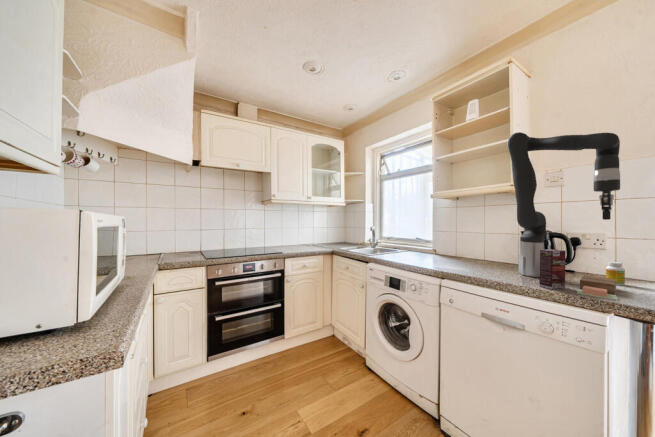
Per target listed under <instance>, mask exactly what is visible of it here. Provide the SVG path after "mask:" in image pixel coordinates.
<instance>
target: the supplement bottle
mask: <svg viewBox="0 0 655 437" xmlns="http://www.w3.org/2000/svg"><path fill="white" fill-rule="evenodd" d="M605 278H609V279H616V286H625V285H626V281H625V280H626V272H625V268H624V267H623V263H622V262H619V261H618V262H617V261H608V264H607V266H606V268H605Z"/></svg>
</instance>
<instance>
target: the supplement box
mask: <svg viewBox="0 0 655 437" xmlns="http://www.w3.org/2000/svg"><path fill="white" fill-rule="evenodd" d="M566 251H567V250H564V249H557V248H556V249H553V248H551V249H544V250H540V277H539V280H538V281H539V284H538V286H539V287H541V288H544V287H545V288H546V289H548V288H549V289H550V290H555V289H565V288H566V253H567V252H566ZM549 289H548V290H549Z"/></svg>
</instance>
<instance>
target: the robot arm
mask: <svg viewBox="0 0 655 437" xmlns="http://www.w3.org/2000/svg"><path fill="white" fill-rule="evenodd" d="M620 142H621V140H620V137H619V135H617V133H613V132H599V133H598V132H597V133H588V134H564V135H557V136H552V137H532V136H529V135H527V133H524V132H514V133H513V134H511V135H510V136H509V137H508V139H507V141H506V146H507V149H508V153H509V156H510V161H511V173H512V181H513V188H514V194H515V201H516V202H515V203H516V221H517V223H518V226H520V227H521V228H522V229H524V231H523V233H522V234H521V235H520V238H519V239H520V240H519V255H518V274H520V275H522V276H526V277H527V276H528V277H535V278H536V277H537V278H540V250H545V249H544V246H545V245H544V244H545V242H544V240H545V238H546V236H547V235H546V233H547V219H546V216H545V214H544V213H542V212H540V211H536V207H535V203H534V200H535V194H536V191H537V187H538V186H537V185H538V184H537V176H536V173H535V172H536V171H535V168H534V166H533V163H532V161H531V159H530V155H529V152H533V151H534V152H535V151H583V150H595V160H594V170H593V171H594V172H593V191H594V192H596V193H600V192H601V194H600V195H598V196H599V197H598V199H599V202H600V203H599V205H600V206H601V208H600V209H601V211H602V220H605V221H606V220H607V221H608V220H611V212H612V208H613V207H612V206H613V205H614V199H615V196H614V194H612V192H615V191H619V190H621V171H620V156H619V154H620V144H621V143H620Z"/></svg>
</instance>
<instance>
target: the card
mask: <svg viewBox="0 0 655 437" xmlns="http://www.w3.org/2000/svg"><path fill="white" fill-rule="evenodd" d="M582 293H584V294H590V295H596V296H602V297H607V289H601V288H595V287H588V286H583V288H582Z"/></svg>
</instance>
